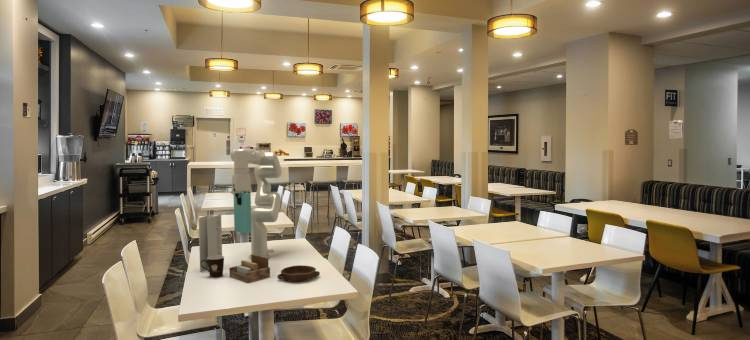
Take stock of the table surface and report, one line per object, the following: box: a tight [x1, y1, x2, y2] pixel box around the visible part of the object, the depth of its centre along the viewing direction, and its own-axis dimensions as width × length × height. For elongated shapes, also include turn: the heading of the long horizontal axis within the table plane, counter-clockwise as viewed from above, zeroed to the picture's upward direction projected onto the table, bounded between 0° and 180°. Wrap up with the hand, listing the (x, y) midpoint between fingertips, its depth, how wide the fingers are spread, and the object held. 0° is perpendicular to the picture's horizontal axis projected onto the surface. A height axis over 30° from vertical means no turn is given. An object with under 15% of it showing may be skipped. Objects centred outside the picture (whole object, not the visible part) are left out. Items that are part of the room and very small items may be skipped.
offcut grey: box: [236, 265, 251, 275], centre depth 245 cm, size 2×10×6 cm, turn 49°
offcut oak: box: [240, 259, 258, 271], centre depth 248 cm, size 2×12×8 cm, turn 49°
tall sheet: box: [233, 192, 252, 235], centre depth 260 cm, size 3×12×22 cm, turn 49°
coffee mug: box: [199, 255, 225, 278], centre depth 251 cm, size 12×9×10 cm
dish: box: [276, 264, 320, 283], centre depth 245 cm, size 18×22×5 cm
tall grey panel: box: [198, 213, 223, 273], centre depth 264 cm, size 14×6×30 cm, turn 168°
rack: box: [228, 254, 271, 284], centre depth 248 cm, size 14×16×10 cm
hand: (242, 204), depth 260 cm, fingers closed on tall sheet, 3 cm apart
